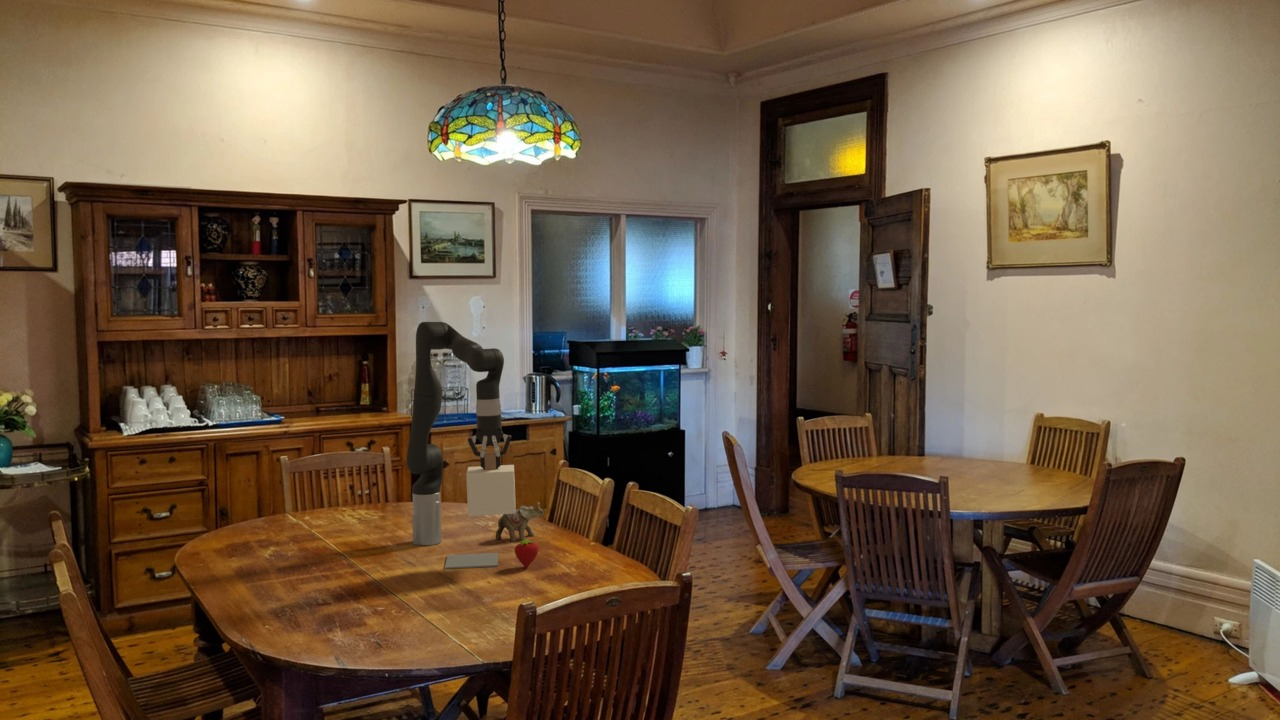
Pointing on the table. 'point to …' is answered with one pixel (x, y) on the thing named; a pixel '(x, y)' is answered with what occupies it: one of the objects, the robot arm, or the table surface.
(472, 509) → the cover
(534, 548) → the strawberry
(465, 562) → the mat
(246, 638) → the table surface
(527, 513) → the figurine
